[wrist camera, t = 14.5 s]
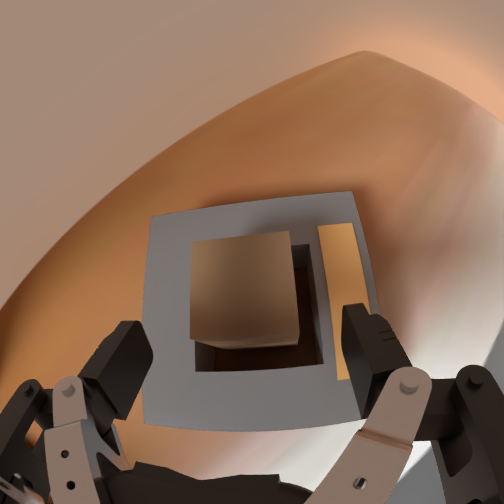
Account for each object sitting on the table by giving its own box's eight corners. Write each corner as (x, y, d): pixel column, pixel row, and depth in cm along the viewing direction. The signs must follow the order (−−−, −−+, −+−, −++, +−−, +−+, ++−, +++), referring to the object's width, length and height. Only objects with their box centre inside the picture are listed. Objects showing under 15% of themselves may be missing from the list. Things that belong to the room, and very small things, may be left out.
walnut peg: (231, 351, 18) (189, 339, 11) (229, 289, 20) (191, 241, 13) (296, 346, 18) (299, 332, 10) (291, 283, 19) (288, 230, 12)
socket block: (171, 415, 16) (142, 424, 13) (172, 240, 22) (150, 215, 18) (370, 404, 15) (391, 413, 11) (343, 220, 21) (352, 189, 17)
